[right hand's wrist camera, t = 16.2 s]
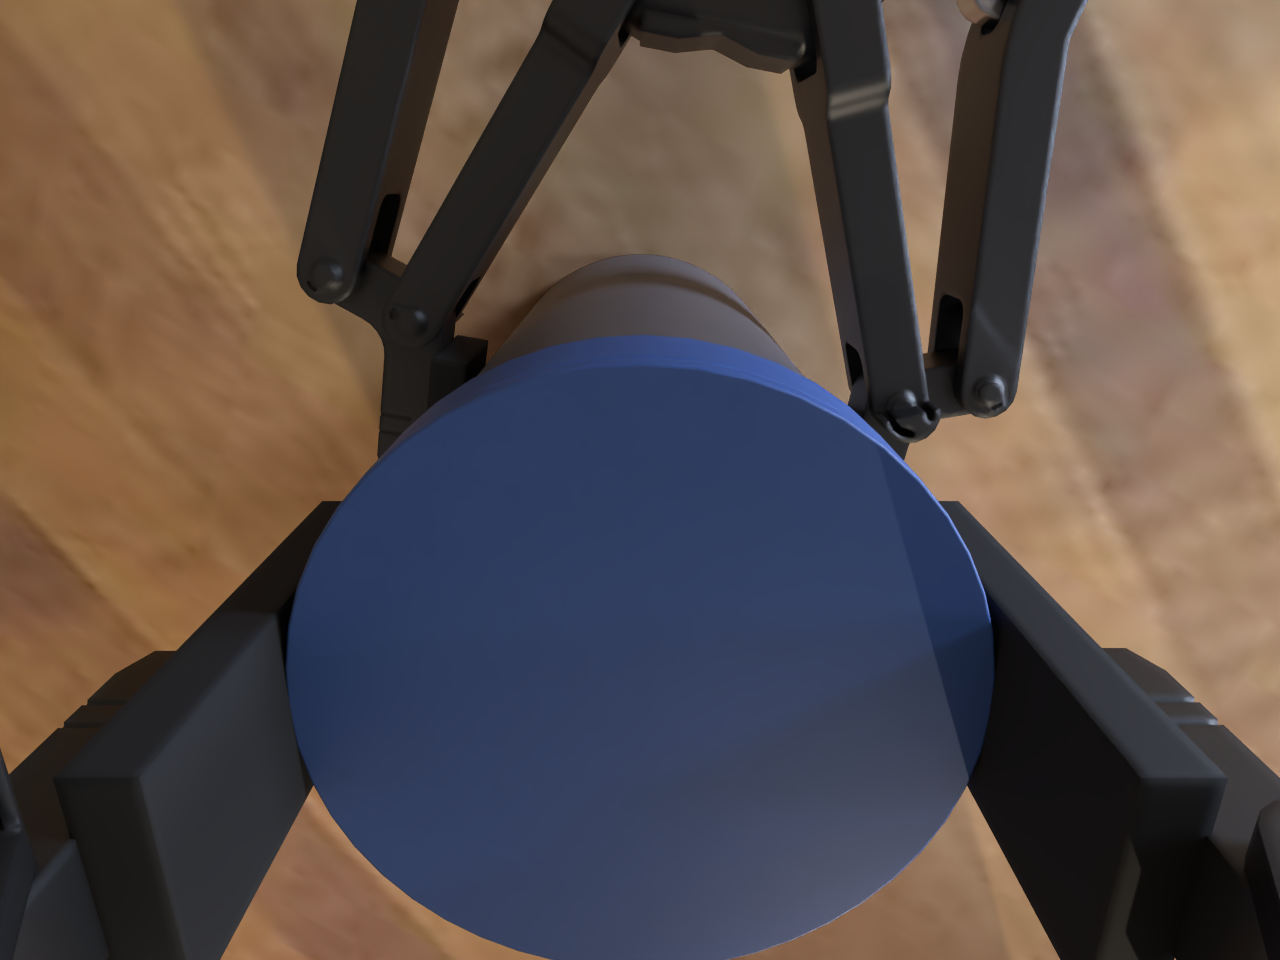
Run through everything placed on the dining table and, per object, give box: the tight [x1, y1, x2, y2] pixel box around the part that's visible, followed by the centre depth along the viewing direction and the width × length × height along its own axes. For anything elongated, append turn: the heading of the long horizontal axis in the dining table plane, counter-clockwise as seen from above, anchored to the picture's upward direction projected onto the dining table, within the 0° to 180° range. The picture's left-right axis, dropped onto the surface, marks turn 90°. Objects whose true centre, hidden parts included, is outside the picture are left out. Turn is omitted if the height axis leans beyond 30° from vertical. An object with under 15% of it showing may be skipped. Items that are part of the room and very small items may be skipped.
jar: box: [477, 254, 804, 377], centre depth 18 cm, size 8×8×16 cm
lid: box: [285, 335, 995, 960], centre depth 11 cm, size 9×9×2 cm
